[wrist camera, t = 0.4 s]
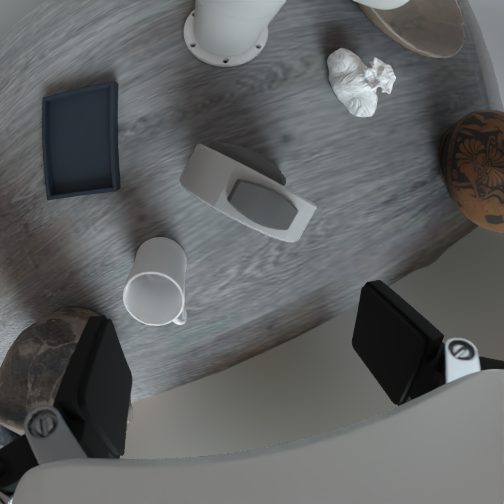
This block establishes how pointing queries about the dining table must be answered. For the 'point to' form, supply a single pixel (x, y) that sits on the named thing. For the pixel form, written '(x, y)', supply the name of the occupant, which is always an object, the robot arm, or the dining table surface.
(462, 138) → the vase
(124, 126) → the dining table surface
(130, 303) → the mug
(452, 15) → the bowl
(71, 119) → the tray
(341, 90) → the bust
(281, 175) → the alarm clock
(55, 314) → the clay pot
